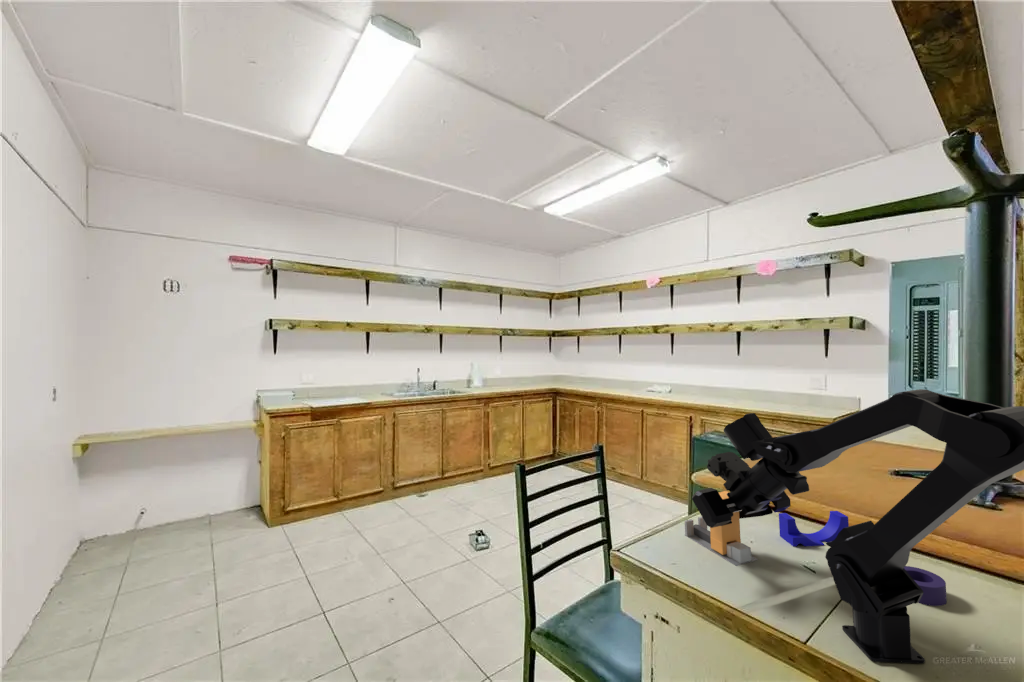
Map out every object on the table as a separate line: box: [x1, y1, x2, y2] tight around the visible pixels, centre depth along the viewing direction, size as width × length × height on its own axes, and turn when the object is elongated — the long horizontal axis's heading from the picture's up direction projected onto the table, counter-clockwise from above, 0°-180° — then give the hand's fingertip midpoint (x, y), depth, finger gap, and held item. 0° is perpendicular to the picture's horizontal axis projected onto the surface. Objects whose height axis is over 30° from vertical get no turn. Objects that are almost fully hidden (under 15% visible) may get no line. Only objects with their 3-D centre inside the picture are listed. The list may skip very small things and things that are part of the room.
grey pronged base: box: [684, 516, 759, 567], centre depth 86 cm, size 14×5×4 cm, turn 19°
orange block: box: [709, 490, 742, 555], centre depth 85 cm, size 3×5×11 cm
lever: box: [904, 565, 948, 607], centre depth 72 cm, size 12×6×3 cm, turn 47°
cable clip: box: [778, 510, 850, 548], centre depth 87 cm, size 12×4×6 cm, turn 88°
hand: (719, 519), depth 86 cm, fingers open, 6 cm apart
